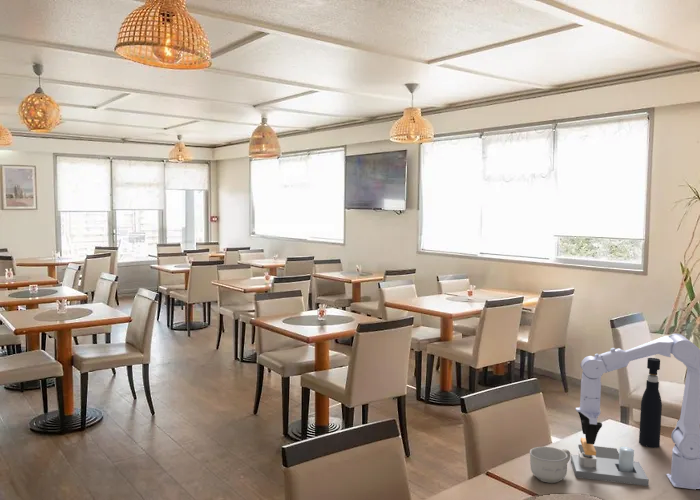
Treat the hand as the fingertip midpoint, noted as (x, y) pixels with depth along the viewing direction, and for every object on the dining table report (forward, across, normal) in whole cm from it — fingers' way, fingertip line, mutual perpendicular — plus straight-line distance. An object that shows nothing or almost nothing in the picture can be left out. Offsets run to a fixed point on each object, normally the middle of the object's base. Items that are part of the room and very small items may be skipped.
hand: (588, 438), depth 178 cm
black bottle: (+10, -27, +24) cm, 38 cm away
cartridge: (+10, 0, +11) cm, 15 cm away
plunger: (+6, 0, 0) cm, 6 cm away
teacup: (+10, +8, -11) cm, 17 cm away
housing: (+10, 0, +6) cm, 12 cm away
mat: (+10, -13, +6) cm, 17 cm away
